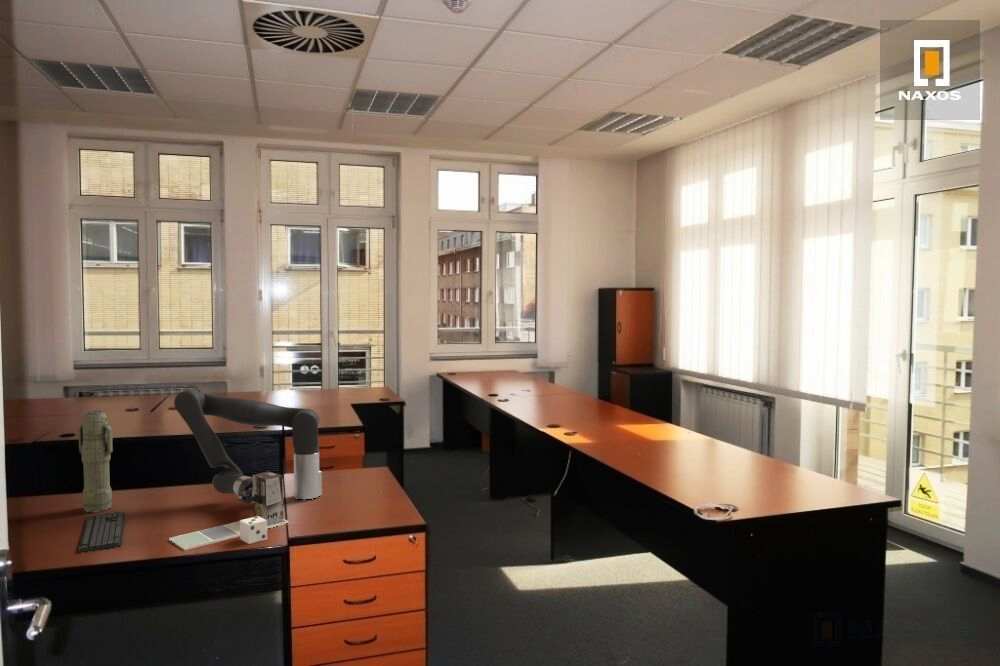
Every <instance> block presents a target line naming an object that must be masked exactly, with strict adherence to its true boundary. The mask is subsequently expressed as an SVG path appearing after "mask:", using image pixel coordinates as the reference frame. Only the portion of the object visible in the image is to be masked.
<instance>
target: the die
mask: <svg viewBox="0 0 1000 666" xmlns="http://www.w3.org/2000/svg"><path fill="white" fill-rule="evenodd" d="M239 521H240V536H239V540H241V541H242V542H244V543H246V544H248V545H250V544H254V543H258V542H261V541H266V540H268V529H267V520H265V519H263V518H261V517H259V516H256V517H254V516H253V517H248V518H244V519H240V520H239Z"/></svg>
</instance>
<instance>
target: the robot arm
mask: <svg viewBox="0 0 1000 666" xmlns="http://www.w3.org/2000/svg"><path fill="white" fill-rule="evenodd" d="M173 405H174V408H175V411H177V413H178V414H179V415H180V417H181V418H182V419H183V421H184V422H185V424H186V425H187V426H188V428H189V429H190V431H191V433H192V435H193V437H194V438H195V440H196V442H197V444H198V446H199V448H200V450H201V451H202V453H203V456H204V457H205V460H206V461H207V463H208V465H209V467H210V468H212V469H213V468H215V469H216V468H217V467H218V468H219V467H221V466H222V467H224V468H226V469H225V470H223V471H220V472H219V473H216V474H215V475H214V476H213V478H212V487H213V488H214V490H216V491H217V492H218V493H221V494H231V495H232V494H233V495H234V494H235V495H236V496H237V497H238V499H237V500H238V502H239V501H240V502H242V503H245V504H250V503H252V504H253V503H254V502H256V503H258V504H262V497H260V496H258V495H256V494H254V492H253V477H251V476H247V475H244V473H243V472H242V470H241V469H240V467H239V466H237V464H236V463H234V461H233V460H232V458H230V456H229V455H228V453H227V451H226V449H225V447H224V446H223V444H222V442H221V439H220V438H219V437H218V435H217V434H216V432H215V431H214V430H213V429H212V428H211V426H210V424H209V422H208V421H207V419H206V416H213V417H216V418H217V417H218V418H220V419H224V420H227V421H229V422H233V423H235V424H236V423H237V424H240V425H241V424H243V425H247V426H253V427H254V426H255V427H271V426H278V427H279V426H280V427H286V428H291V429H292V431H291V432H292V433H291V434H292V447H293V484H294V485H293V490H294V491H293V494H294V499H295V498H296V499H295V500H297V499H312V500H314V499H313V498H316V497H318V496H320V495H322V496H323V486H322V485H323V483H322V482H323V480H322V478H323V477H322V475H323V474H322V471H321V470H320V443H319V424H320V422H321V421H320V417H319V413H317V411H316V410H315V411H314V410H313V409H311V408H304V407H303V408H299V407H298V408H297V407H286V406H281V405H278V404H277V405H276V404H274V403H268V402H263V401H259V400H253V399H249V398H247V399H246V398H239V397H226V396H225V397H223V396H217V395H213V394H208V393H206V392H205V393H204V392H202V391H198V390H196V389H186V390H183V391H180V392H179V393H177V394H176V396H175V398H174V401H173ZM320 497H321V496H320ZM318 498H319V497H318ZM316 499H317V498H316Z"/></svg>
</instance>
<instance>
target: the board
mask: <svg viewBox="0 0 1000 666" xmlns="http://www.w3.org/2000/svg"><path fill="white" fill-rule="evenodd" d="M288 522H289V523H290V521H289V520H287V519H284V518H283V523H279V524H275V525H271V526H267V530H269V529H268V528H271V529H274V528H273V527H275V528H277V527H276V526H278V527H282V526H285V525H284V524H286V523H288ZM281 525H282V526H281ZM286 525H287V524H286ZM238 537H239V538H240V520H238V521H233V522H230V523H227V524H223V525H218V526H214V527H213V526H212V527H210V528H206V529H202V530H197V531H196V530H195V531H193V532H189V533H184V534H181V535H175V536H172V537H169V541H170V542H171V541H172V542H171V543H172V544H174V543H175V544H174V545H175V546H176V547H177V546H178V548H180V549H182V550H183V551H189V550H191V549H195V548H199V547H203V546H207V545H211V544H216V543H219V542H223V541H227V540H231V539H235V538H238Z"/></svg>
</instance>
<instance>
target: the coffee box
mask: <svg viewBox="0 0 1000 666" xmlns="http://www.w3.org/2000/svg"><path fill="white" fill-rule="evenodd" d="M252 478H253V492H254V494H256V495H258V496H260V497H262V504H258V503H256V502H254V503H253V502H252V505H253V517H256V516H259V517H261V518H263V519H265V520H267V526H271V525H275V524H279V523H283V519H284V499H283V498H284V497H283V496H284V495H283V494H284V490H283V487H284V486H283V483H284V480H283V475H282V474H278V473H275V472H272V471H270V470H269V471H266V472H265V471H264V472H260V473H257V474H252Z"/></svg>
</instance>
